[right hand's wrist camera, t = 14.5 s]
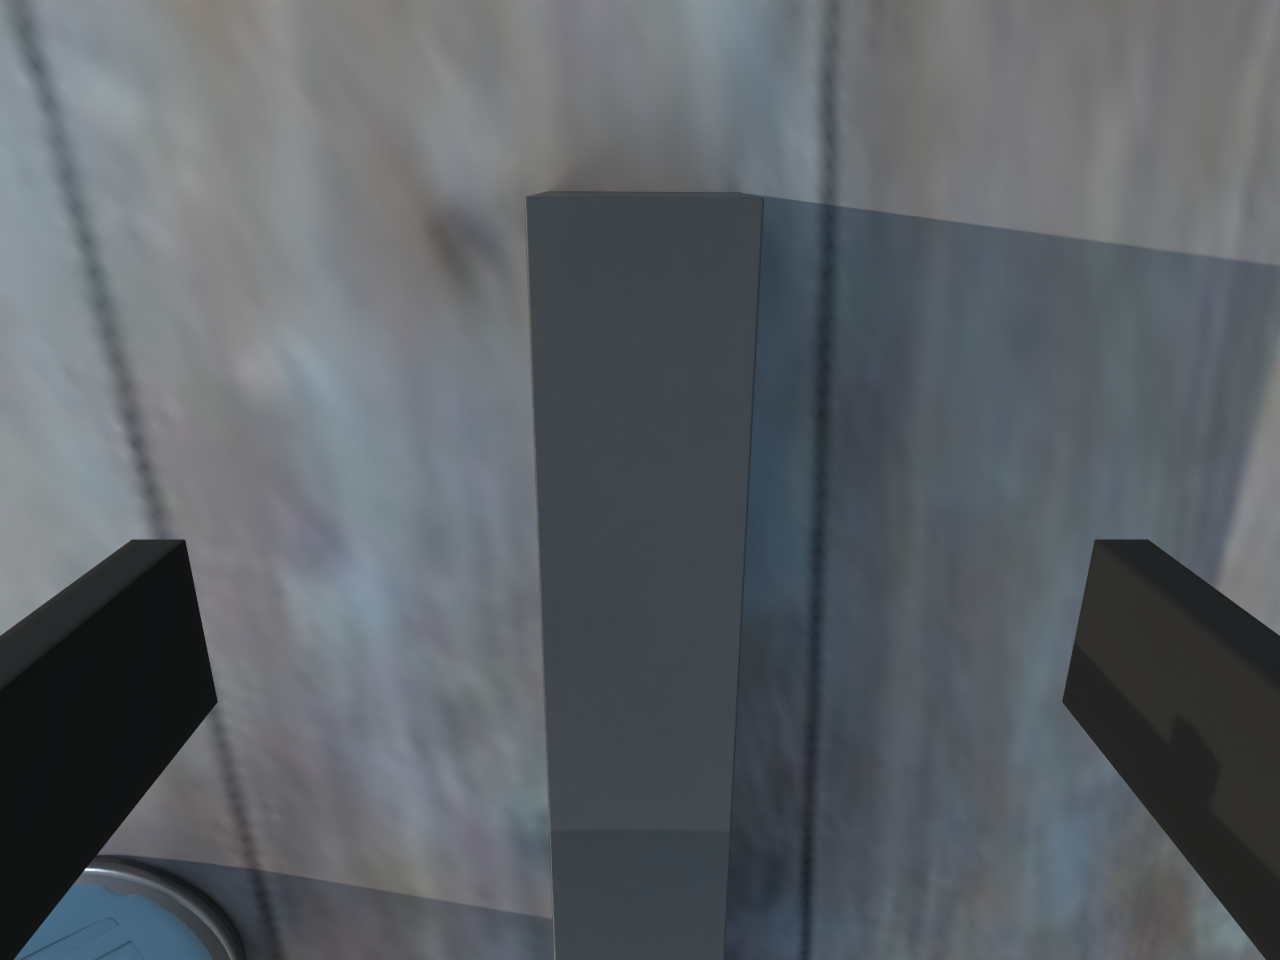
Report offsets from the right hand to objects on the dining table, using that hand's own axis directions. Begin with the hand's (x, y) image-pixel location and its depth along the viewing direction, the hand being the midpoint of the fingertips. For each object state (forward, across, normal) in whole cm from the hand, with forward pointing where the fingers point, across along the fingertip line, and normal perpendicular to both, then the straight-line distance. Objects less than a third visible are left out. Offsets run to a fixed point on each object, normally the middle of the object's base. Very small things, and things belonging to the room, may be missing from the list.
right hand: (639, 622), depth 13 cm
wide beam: (+28, 0, -22) cm, 36 cm away
